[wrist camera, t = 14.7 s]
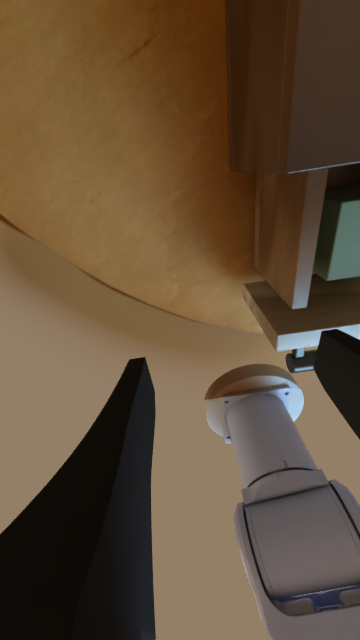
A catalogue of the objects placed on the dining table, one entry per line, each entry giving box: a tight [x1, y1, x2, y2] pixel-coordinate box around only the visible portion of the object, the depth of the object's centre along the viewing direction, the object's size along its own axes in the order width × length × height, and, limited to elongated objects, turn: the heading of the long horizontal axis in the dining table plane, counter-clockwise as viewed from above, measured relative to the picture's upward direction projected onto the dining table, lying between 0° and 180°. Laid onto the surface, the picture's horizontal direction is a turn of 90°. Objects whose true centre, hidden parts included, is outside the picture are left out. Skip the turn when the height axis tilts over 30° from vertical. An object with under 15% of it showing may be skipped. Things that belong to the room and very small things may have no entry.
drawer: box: [243, 163, 360, 373], centre depth 14 cm, size 17×10×7 cm, turn 8°
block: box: [313, 185, 360, 281], centre depth 14 cm, size 4×4×4 cm
